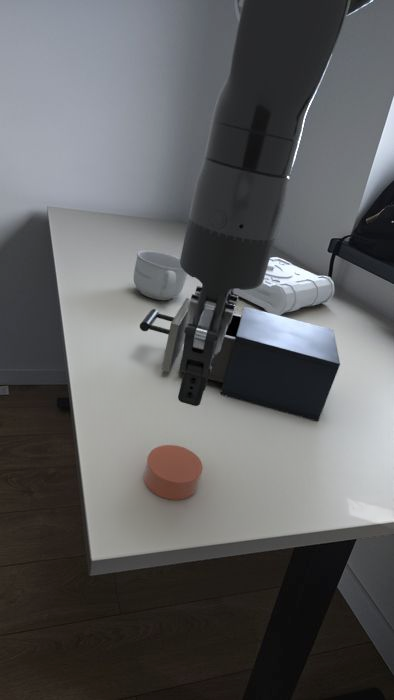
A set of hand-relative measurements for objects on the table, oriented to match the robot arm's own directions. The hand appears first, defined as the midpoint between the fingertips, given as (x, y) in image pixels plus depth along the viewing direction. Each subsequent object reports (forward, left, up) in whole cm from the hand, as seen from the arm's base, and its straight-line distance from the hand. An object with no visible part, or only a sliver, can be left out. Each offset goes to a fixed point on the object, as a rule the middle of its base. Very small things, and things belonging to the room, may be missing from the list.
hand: (191, 394), depth 49 cm
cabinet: (-10, -27, -11) cm, 31 cm away
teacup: (+15, -52, -11) cm, 55 cm away
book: (-10, -74, -11) cm, 76 cm away
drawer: (+2, -27, -10) cm, 29 cm away
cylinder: (0, 0, -11) cm, 11 cm away
